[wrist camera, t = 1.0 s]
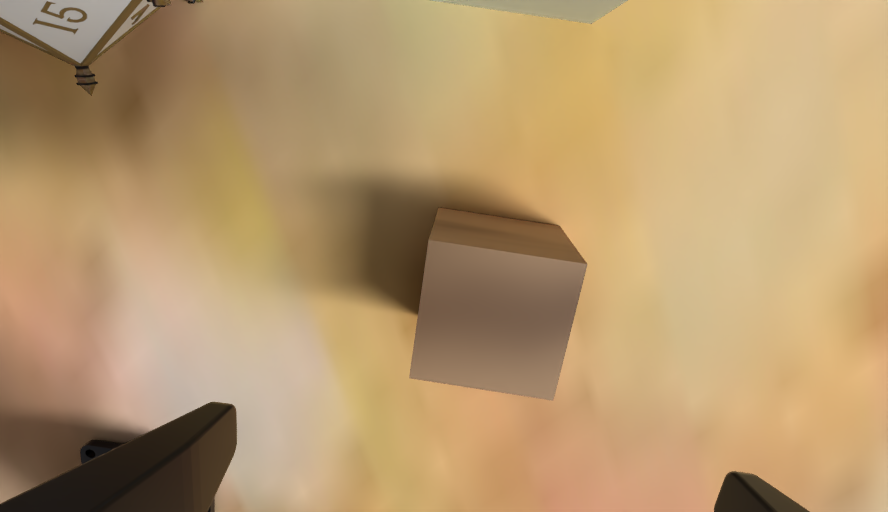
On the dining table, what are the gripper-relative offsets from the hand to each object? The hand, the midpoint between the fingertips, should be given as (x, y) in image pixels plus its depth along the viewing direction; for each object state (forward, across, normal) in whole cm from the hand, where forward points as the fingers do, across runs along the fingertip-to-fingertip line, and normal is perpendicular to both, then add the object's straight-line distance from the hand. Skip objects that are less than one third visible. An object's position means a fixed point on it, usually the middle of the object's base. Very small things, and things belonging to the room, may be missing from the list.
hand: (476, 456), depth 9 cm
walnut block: (+12, -1, +1) cm, 12 cm away
